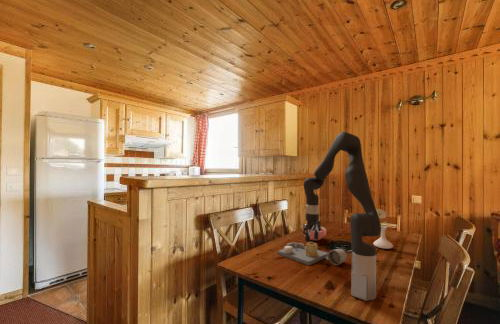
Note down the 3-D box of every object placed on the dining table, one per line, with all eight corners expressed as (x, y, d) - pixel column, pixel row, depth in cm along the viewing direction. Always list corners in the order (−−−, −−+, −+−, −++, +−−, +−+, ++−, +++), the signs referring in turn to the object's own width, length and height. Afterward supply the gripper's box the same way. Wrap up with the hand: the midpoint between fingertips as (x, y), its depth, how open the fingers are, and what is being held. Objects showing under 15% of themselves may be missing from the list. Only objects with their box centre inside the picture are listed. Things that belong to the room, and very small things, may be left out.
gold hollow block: (313, 257, 135) (313, 246, 135) (302, 254, 140) (302, 243, 140) (320, 255, 140) (320, 243, 140) (309, 251, 145) (309, 240, 145)
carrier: (308, 265, 129) (308, 255, 130) (277, 254, 146) (277, 244, 146) (328, 256, 143) (328, 247, 143) (297, 247, 159) (298, 238, 159)
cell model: (300, 242, 170) (300, 225, 170) (303, 234, 189) (303, 220, 189) (326, 244, 165) (326, 228, 165) (325, 236, 184) (326, 221, 184)
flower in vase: (397, 249, 157) (397, 210, 158) (384, 251, 153) (384, 211, 154) (379, 243, 169) (379, 207, 170) (367, 245, 165) (367, 208, 166)
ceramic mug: (348, 263, 133) (347, 248, 134) (340, 267, 128) (340, 252, 128) (330, 257, 141) (330, 244, 142) (322, 261, 136) (322, 247, 136)
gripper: (310, 215, 133) (310, 244, 133) (324, 211, 142) (324, 239, 142) (299, 212, 139) (299, 241, 138) (313, 209, 148) (313, 236, 148)
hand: (312, 240), depth 140 cm, fingers open, 8 cm apart
